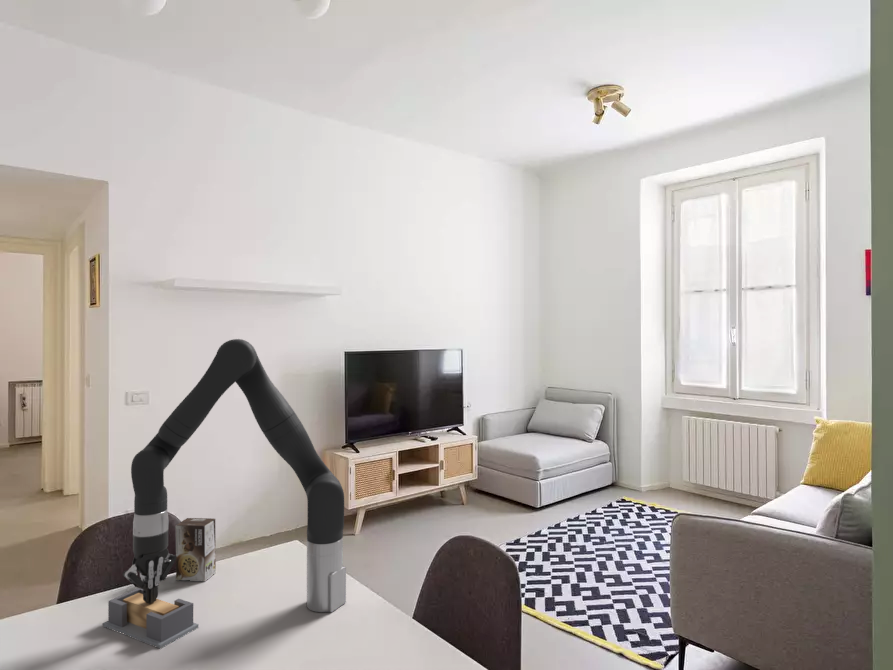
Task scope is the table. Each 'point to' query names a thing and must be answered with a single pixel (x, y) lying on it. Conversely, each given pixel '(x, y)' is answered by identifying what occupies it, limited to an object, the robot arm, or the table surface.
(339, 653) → the table surface
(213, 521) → the coffee box
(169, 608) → the wooden block
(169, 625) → the end caps
